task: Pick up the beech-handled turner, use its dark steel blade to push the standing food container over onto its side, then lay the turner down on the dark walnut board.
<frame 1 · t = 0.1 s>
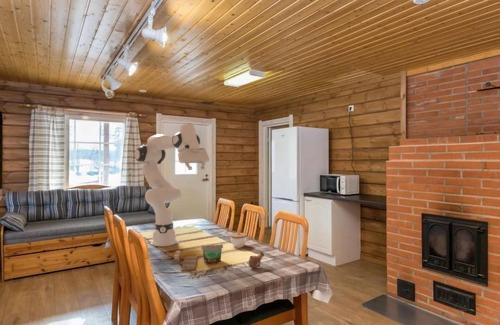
hand: (196, 169, 186), 52 cm above the table, tool tilted 20°, fingers open, 8 cm apart
lidded jar: (238, 246, 205), on the table
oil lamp: (256, 268, 165), on the table
tool board: (189, 264, 171), on the table
turner: (176, 259, 179), on the table
food container: (213, 263, 173), on the table
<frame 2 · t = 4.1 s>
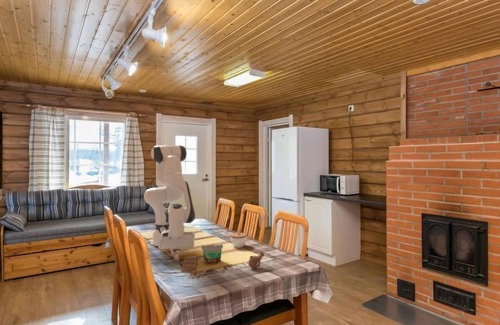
hand: (176, 255, 181), 2 cm above the table, tool pointing down, fingers closed on turner, 2 cm apart
turner: (176, 259, 179), on the table, touching gripper
everything else where it was.
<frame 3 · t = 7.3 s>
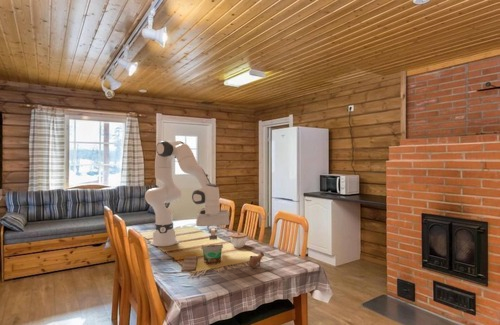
hand: (213, 232, 190), 13 cm above the table, tool pointing down, fingers closed on turner, 2 cm apart
turner: (213, 236, 188), point 11 cm above the table, touching gripper
everything else where it was.
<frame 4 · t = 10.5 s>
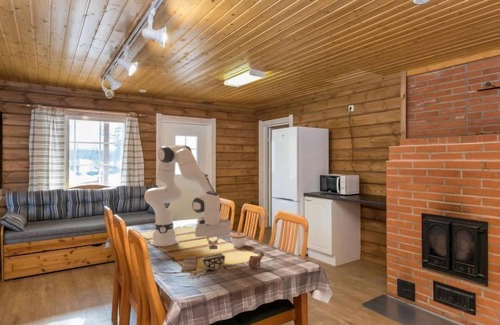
hand: (212, 243, 179), 9 cm above the table, tool pointing down, fingers closed on turner, 2 cm apart
turner: (213, 247, 177), point 8 cm above the table, tilted 8°, touching gripper
food container: (213, 260, 171), point 2 cm above the table
everything else where it was.
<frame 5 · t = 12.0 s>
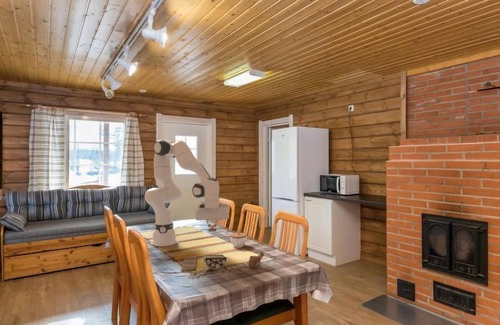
hand: (212, 226, 188), 17 cm above the table, tool pointing down, fingers closed on turner, 2 cm apart
turner: (212, 230, 186), point 15 cm above the table, tilted 8°, touching gripper
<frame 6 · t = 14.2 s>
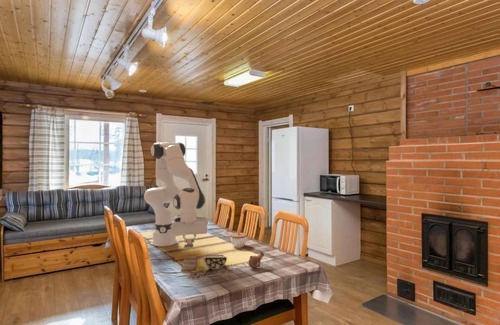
hand: (189, 242, 173), 12 cm above the table, tool pointing down, fingers closed on turner, 2 cm apart
turner: (189, 245, 171), point 11 cm above the table, tilted 8°, touching gripper
everything else where it was.
when the fingers open (4 cm above the table, at t = 15.7 s): turner drops 2 cm, resting on tool board.
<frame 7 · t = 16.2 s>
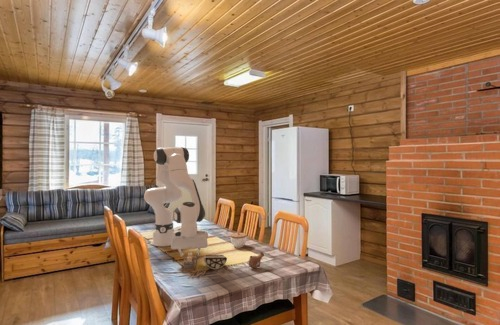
hand: (189, 256, 173), 4 cm above the table, tool pointing down, fingers open, 7 cm apart
turner: (189, 262, 171), point 1 cm above the table, touching tool board
everything else where it was.
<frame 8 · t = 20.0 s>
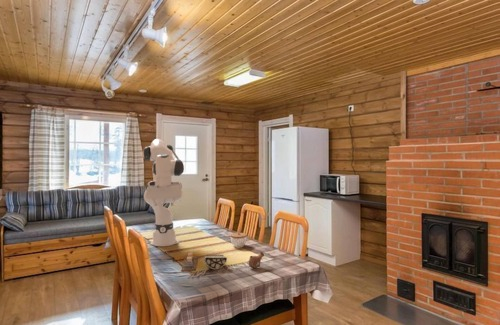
hand: (164, 205, 181), 31 cm above the table, tool pointing down, fingers open, 8 cm apart
nothing on the table moved.
at the end: food container tilted 81°; turner inside the target area (0.3 cm from its centre), point 1.0 cm above the table; the gripper is holding nothing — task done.
